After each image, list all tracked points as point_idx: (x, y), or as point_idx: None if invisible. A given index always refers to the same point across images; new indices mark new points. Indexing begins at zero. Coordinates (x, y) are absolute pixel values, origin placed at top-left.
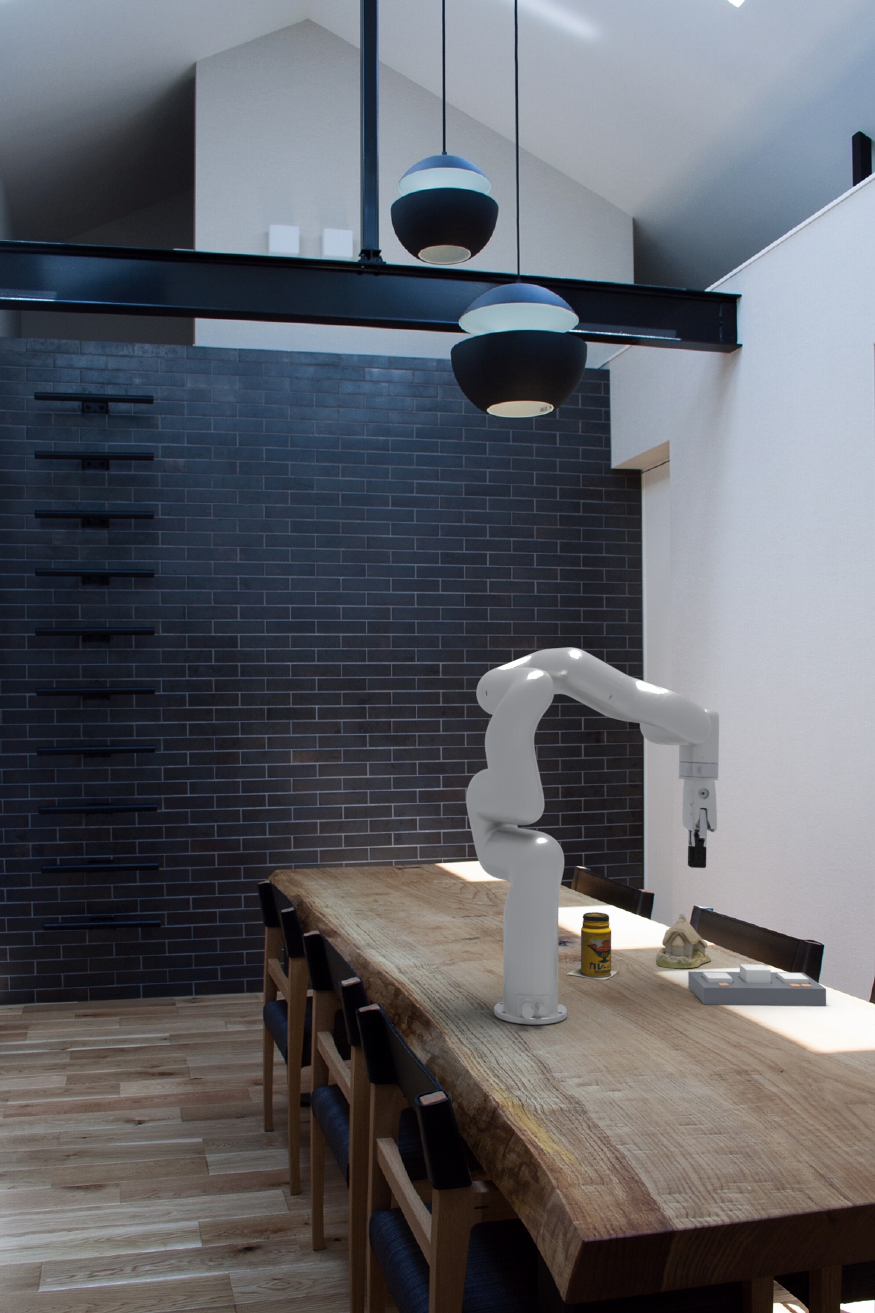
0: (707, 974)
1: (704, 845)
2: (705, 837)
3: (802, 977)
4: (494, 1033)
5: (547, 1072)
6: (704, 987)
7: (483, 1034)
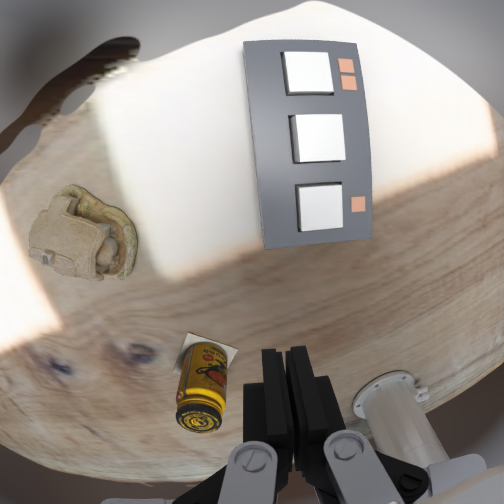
0: (317, 225)
1: (363, 443)
2: (475, 458)
3: (317, 58)
4: None
5: (485, 354)
6: (371, 237)
7: None
